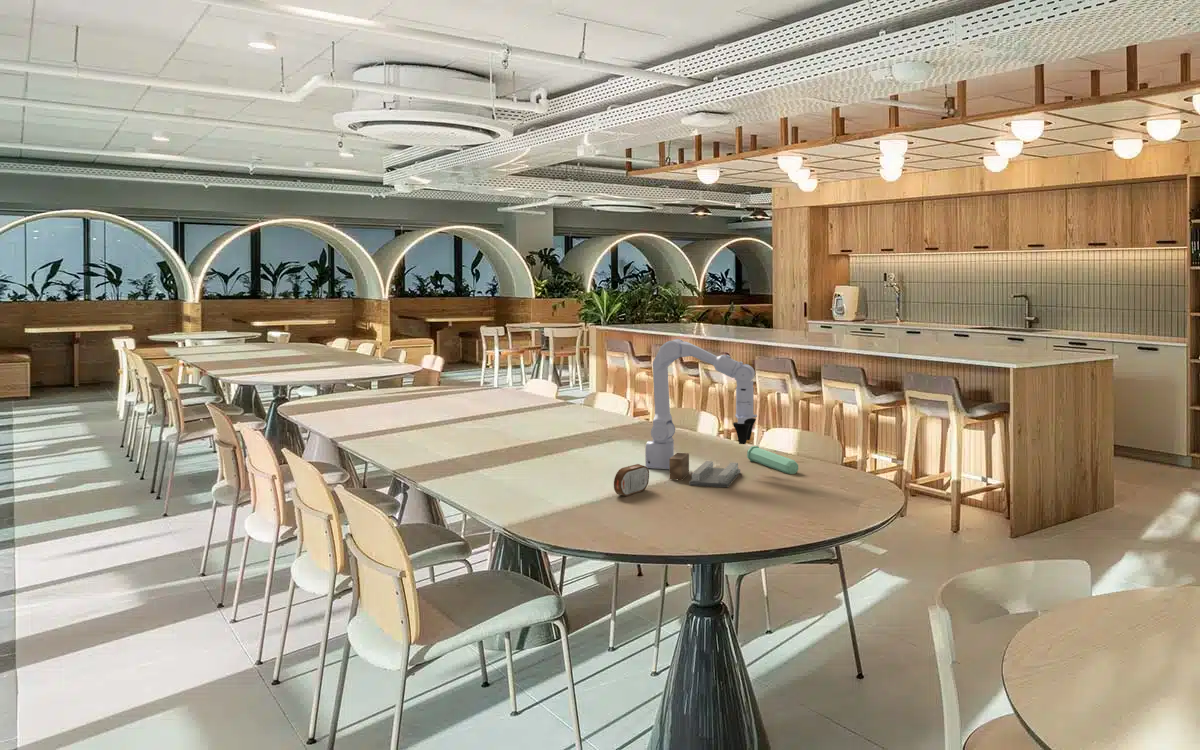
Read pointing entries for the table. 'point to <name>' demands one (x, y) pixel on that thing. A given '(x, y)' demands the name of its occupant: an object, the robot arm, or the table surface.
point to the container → (772, 460)
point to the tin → (631, 480)
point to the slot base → (714, 475)
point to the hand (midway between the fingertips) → (744, 442)
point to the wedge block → (679, 466)
